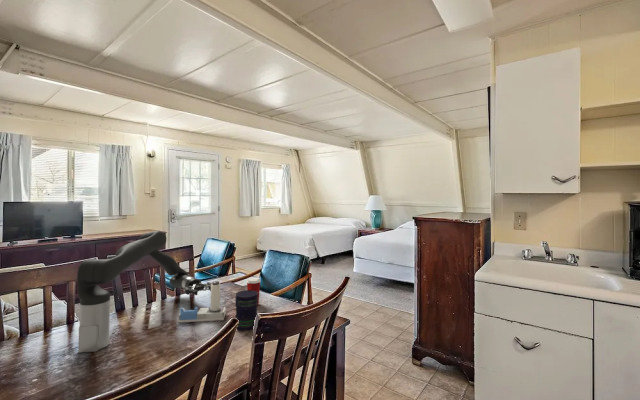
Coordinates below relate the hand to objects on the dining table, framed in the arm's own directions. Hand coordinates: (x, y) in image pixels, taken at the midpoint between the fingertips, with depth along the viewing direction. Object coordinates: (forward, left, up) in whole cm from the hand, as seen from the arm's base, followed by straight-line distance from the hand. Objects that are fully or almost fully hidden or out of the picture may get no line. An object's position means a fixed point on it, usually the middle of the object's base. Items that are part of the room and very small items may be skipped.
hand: (205, 291), depth 152 cm
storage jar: (-22, -22, -10) cm, 33 cm away
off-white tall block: (-9, -6, -9) cm, 14 cm away
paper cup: (+6, -24, -10) cm, 27 cm away
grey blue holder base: (-9, -1, -10) cm, 14 cm away
